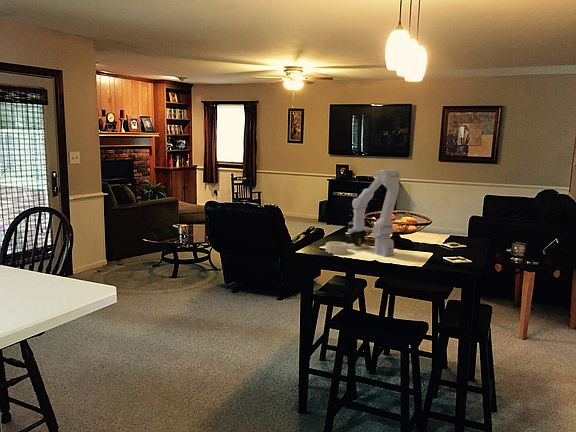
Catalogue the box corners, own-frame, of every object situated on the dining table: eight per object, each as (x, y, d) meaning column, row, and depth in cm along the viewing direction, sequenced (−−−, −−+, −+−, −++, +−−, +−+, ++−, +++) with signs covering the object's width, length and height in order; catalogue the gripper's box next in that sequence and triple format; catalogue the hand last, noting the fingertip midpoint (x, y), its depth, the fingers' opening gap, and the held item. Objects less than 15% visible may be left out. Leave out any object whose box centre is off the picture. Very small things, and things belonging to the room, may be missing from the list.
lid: (374, 248, 268) (375, 239, 267) (358, 251, 260) (358, 242, 259) (357, 243, 278) (358, 235, 277) (341, 246, 270) (341, 238, 270)
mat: (377, 248, 268) (377, 248, 268) (358, 252, 259) (358, 251, 259) (357, 243, 280) (357, 243, 280) (338, 247, 270) (338, 246, 270)
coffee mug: (357, 242, 285) (358, 225, 283) (344, 240, 290) (345, 223, 289) (367, 239, 294) (368, 222, 293) (354, 237, 299) (355, 221, 298)
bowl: (351, 252, 257) (351, 244, 256) (335, 255, 250) (336, 246, 250) (336, 248, 266) (337, 240, 265) (321, 251, 259) (321, 243, 258)
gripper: (363, 218, 274) (362, 241, 276) (344, 220, 266) (343, 244, 268) (372, 219, 269) (371, 244, 271) (353, 222, 260) (352, 247, 262)
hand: (358, 244), depth 269 cm, fingers closed on lid, 3 cm apart
